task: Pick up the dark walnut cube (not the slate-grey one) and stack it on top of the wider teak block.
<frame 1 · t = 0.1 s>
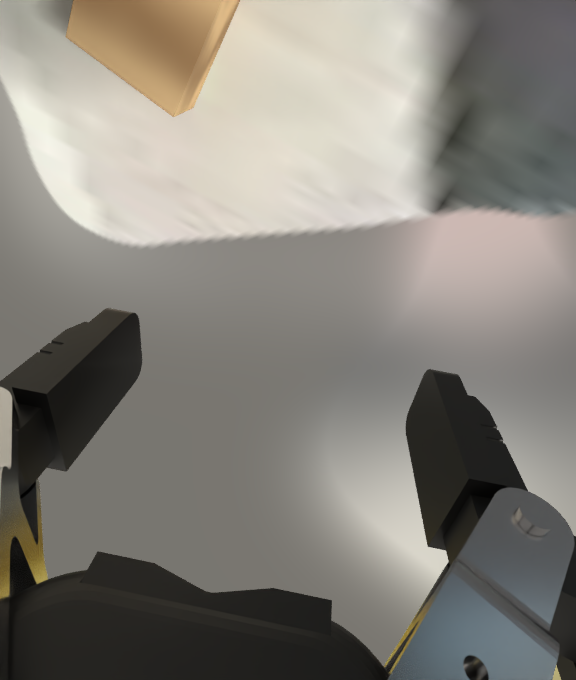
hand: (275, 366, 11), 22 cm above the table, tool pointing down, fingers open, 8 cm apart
teak block: (168, 17, 24), on the table
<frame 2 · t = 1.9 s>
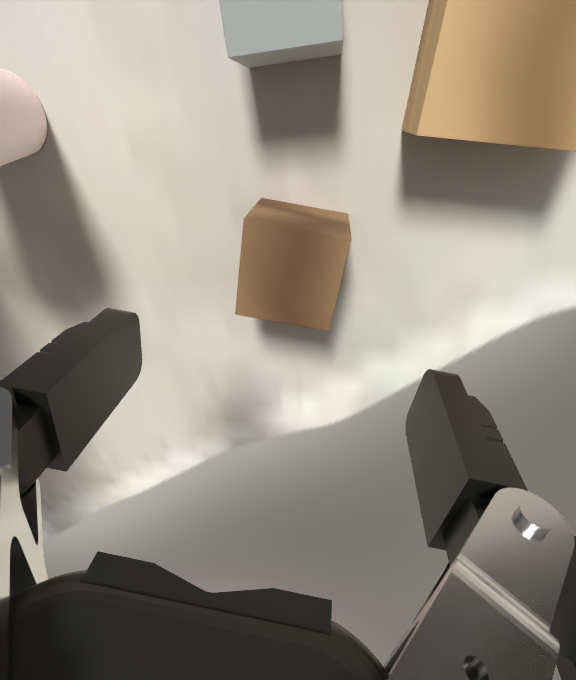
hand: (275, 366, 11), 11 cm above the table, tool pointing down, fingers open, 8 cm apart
slate-grey cube: (289, 1, 15), on the table
walnut cube: (297, 247, 21), on the table
teak block: (507, 41, 15), on the table
smoothie: (12, 113, 19), on the table
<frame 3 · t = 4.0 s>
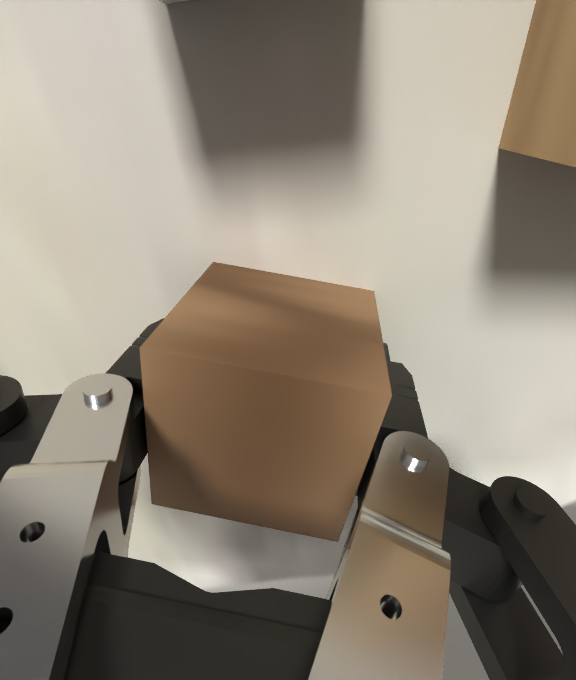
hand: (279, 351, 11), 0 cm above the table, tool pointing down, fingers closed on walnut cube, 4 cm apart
walnut cube: (282, 344, 12), on the table, touching gripper
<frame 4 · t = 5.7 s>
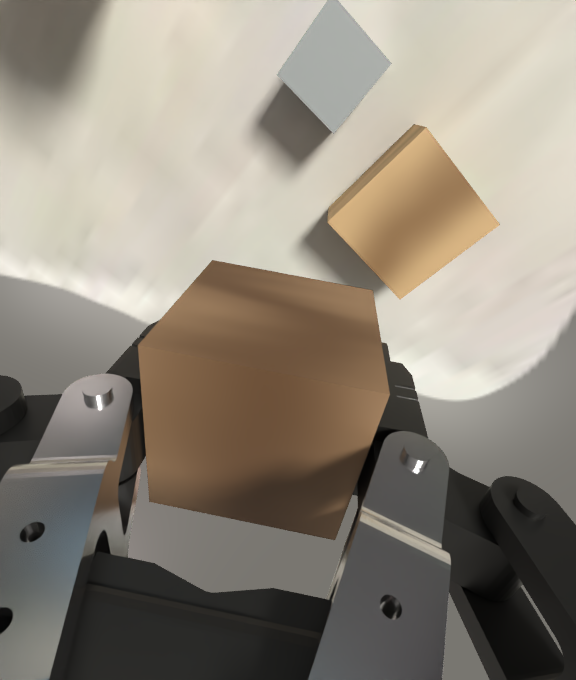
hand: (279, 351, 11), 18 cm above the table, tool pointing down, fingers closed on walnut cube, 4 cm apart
slate-grey cube: (333, 74, 22), on the table
walnut cube: (280, 343, 12), point 17 cm above the table, touching gripper
teak block: (401, 207, 26), on the table
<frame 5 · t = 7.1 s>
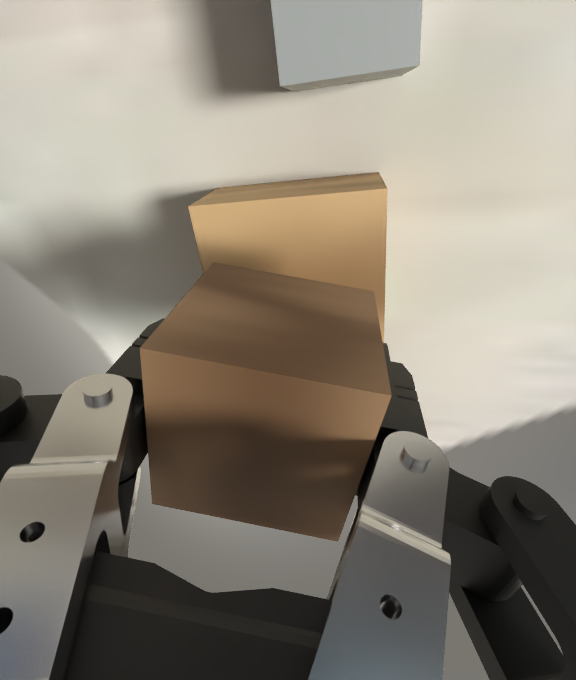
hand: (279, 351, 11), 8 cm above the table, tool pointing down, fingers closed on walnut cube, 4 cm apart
slate-grey cube: (344, 16, 13), on the table
walnut cube: (282, 344, 12), point 8 cm above the table, touching gripper
teak block: (302, 257, 18), on the table
when the fingers open (5 cm above the table, at t = 7.9 s): walnut cube drops 1 cm, point 4 cm above the table.
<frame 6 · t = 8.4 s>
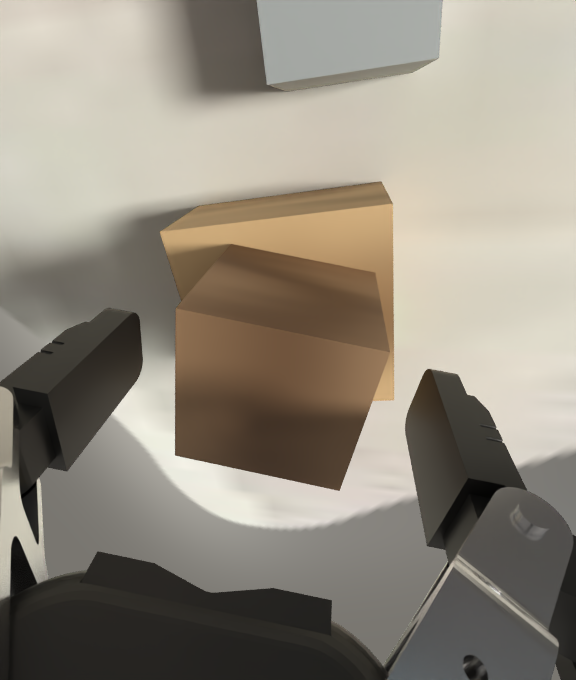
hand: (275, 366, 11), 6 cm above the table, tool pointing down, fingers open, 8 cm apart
slate-grey cube: (345, 2, 11), on the table
walnut cube: (290, 321, 13), point 4 cm above the table
teak block: (298, 278, 16), on the table
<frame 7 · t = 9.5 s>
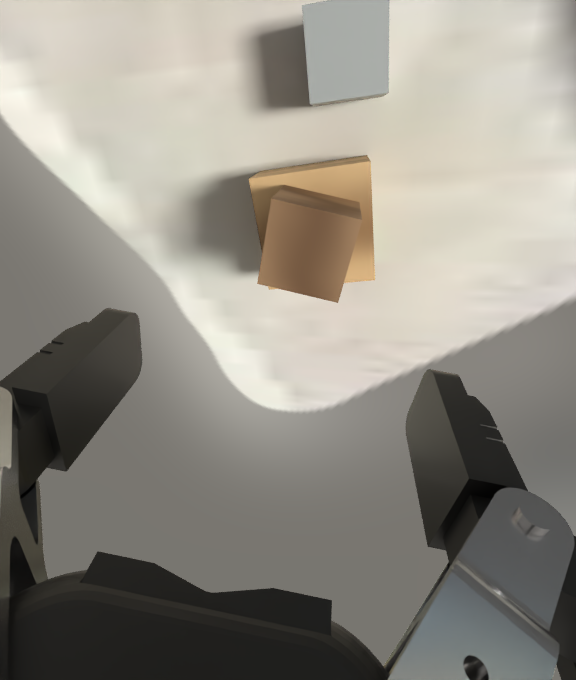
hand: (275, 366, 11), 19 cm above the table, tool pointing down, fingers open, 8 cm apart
slate-grey cube: (346, 61, 22), on the table
walnut cube: (313, 231, 23), point 4 cm above the table, touching teak block
teak block: (318, 217, 27), on the table, touching walnut cube
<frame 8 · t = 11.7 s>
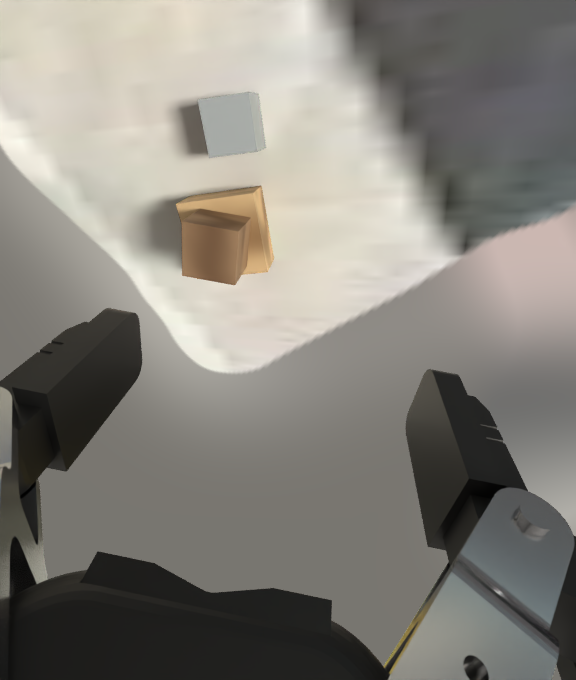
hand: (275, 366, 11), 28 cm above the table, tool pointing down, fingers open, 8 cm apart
slate-grey cube: (240, 124, 33), on the table
walnut cube: (224, 238, 34), point 4 cm above the table, touching teak block
teak block: (234, 227, 38), on the table, touching walnut cube
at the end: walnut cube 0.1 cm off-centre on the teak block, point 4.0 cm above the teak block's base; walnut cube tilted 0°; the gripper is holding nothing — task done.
